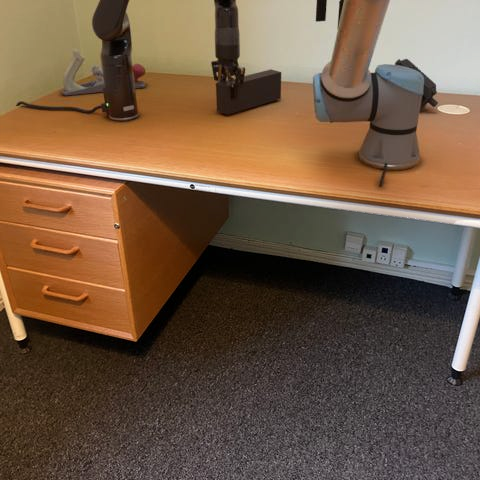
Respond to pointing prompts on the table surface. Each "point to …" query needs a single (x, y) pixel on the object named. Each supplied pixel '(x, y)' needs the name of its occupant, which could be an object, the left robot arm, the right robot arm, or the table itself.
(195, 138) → the table surface
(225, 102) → the bar
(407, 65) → the tool
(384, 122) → the right robot arm
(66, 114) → the table surface
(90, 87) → the hand plane
